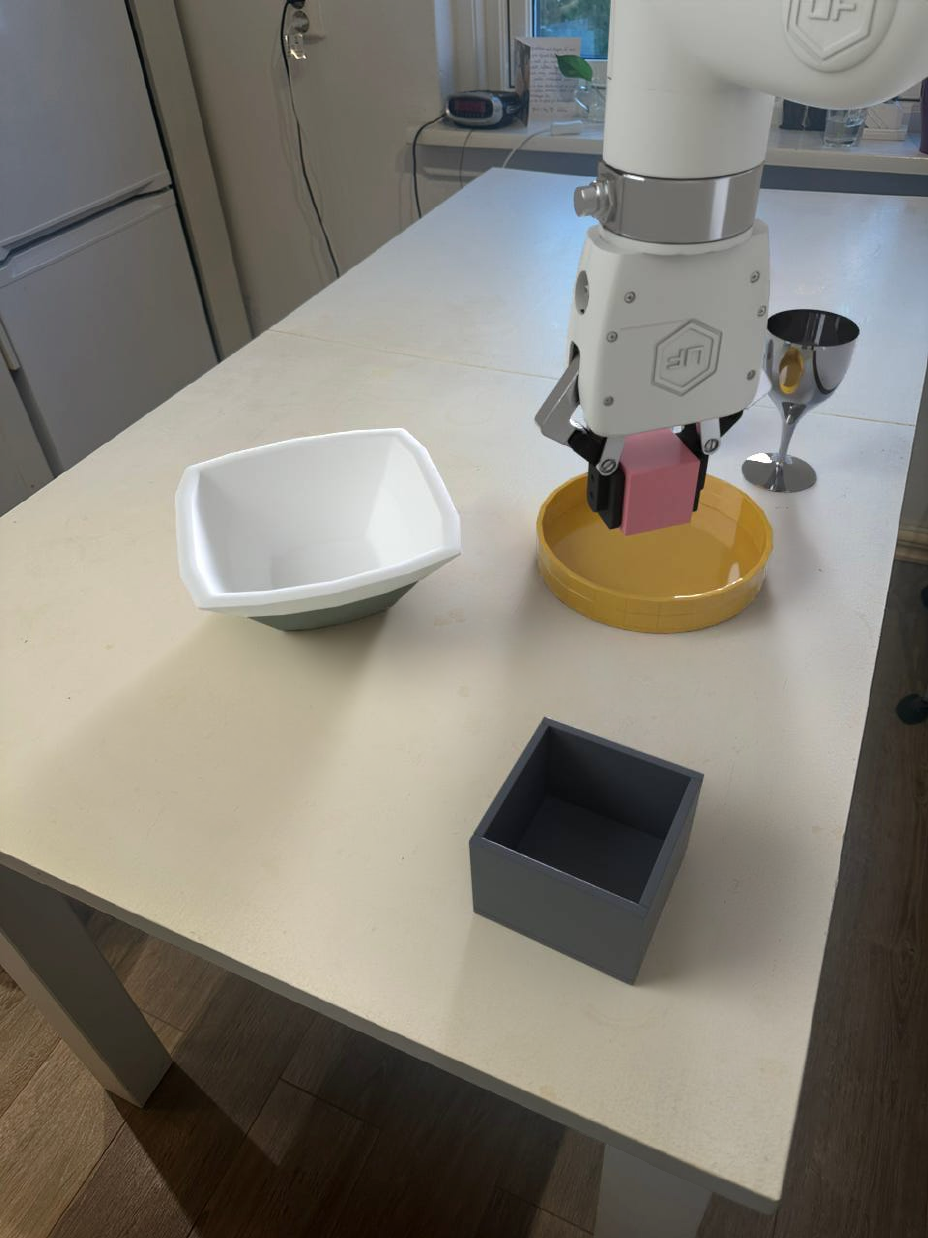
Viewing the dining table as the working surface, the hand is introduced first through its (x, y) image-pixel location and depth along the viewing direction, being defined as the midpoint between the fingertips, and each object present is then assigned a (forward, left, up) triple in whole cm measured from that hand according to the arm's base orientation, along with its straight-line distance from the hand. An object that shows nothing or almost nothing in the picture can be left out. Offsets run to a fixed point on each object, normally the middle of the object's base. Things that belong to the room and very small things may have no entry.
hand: (643, 506), depth 55 cm
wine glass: (-27, -22, -17) cm, 39 cm away
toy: (0, 0, 0) cm, 0 cm away
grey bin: (+9, +14, -17) cm, 24 cm away
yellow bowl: (-9, -14, -17) cm, 24 cm away
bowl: (+19, -20, -17) cm, 33 cm away
